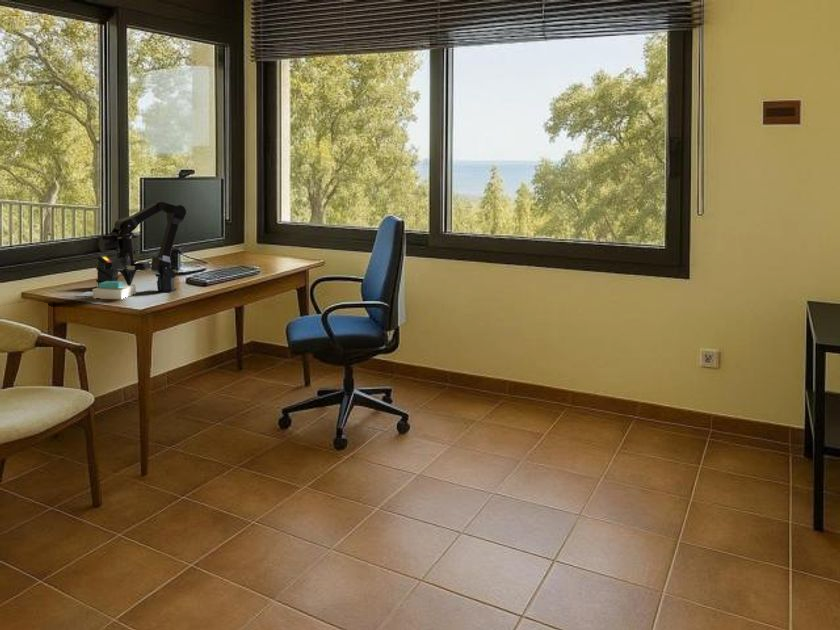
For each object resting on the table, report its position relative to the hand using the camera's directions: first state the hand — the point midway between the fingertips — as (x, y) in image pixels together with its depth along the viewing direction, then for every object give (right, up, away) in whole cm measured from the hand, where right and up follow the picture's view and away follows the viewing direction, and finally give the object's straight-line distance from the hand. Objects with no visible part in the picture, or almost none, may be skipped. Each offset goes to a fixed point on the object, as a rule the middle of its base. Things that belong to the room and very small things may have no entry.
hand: (129, 285), depth 320 cm
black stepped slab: (-17, -1, +20) cm, 26 cm away
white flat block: (-7, -5, +3) cm, 9 cm away
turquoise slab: (-8, -1, +2) cm, 9 cm away
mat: (-19, -4, +6) cm, 20 cm away
